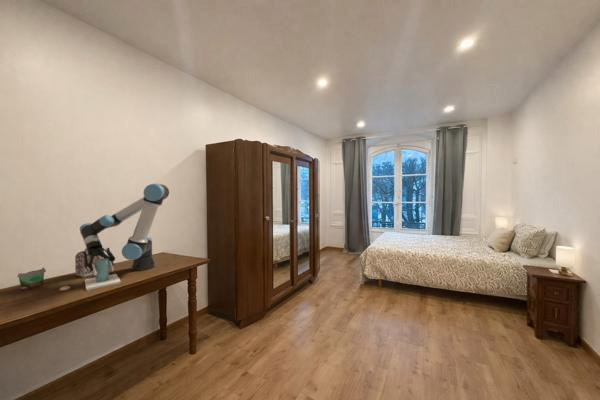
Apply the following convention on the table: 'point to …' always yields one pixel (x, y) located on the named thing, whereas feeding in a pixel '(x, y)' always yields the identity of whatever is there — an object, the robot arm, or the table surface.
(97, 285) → the pale board
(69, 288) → the beige mottled disc
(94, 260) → the decorative jar
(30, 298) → the table surface
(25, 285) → the food container
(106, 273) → the teal canister
